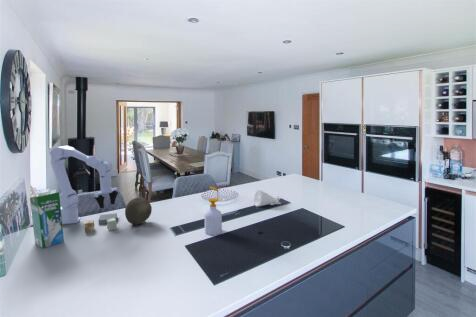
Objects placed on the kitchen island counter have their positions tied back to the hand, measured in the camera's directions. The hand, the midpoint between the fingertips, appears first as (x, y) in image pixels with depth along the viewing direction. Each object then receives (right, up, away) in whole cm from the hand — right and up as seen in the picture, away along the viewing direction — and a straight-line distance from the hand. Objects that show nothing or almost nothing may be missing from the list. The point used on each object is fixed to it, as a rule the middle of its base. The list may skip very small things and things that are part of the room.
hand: (107, 206), depth 156 cm
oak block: (-5, -11, -10) cm, 16 cm away
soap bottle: (+62, -12, -11) cm, 64 cm away
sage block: (+6, -11, -7) cm, 15 cm away
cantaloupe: (+19, -10, -1) cm, 21 cm away
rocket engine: (+96, -6, +33) cm, 102 cm away
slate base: (-1, -9, +4) cm, 10 cm away
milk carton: (-16, -14, -24) cm, 32 cm away
